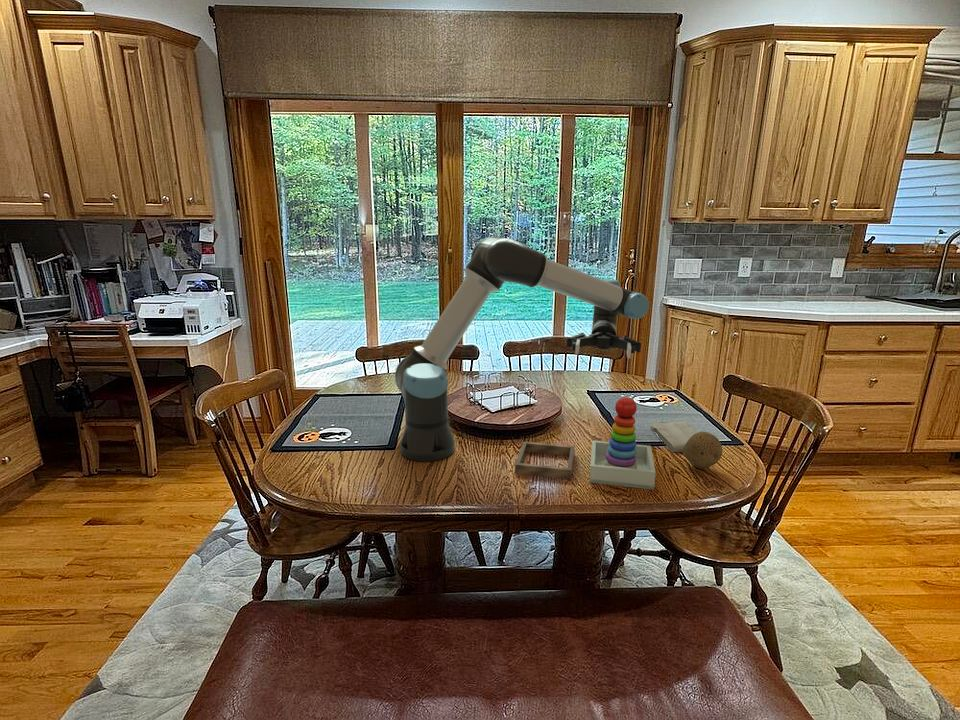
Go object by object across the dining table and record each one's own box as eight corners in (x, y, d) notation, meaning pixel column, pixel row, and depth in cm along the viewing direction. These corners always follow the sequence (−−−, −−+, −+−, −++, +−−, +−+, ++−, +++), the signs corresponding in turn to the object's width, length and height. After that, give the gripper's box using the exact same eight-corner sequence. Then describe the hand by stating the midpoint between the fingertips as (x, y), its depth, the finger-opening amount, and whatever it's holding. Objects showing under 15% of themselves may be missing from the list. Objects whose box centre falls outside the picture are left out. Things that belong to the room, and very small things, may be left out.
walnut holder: (514, 473, 129) (515, 464, 129) (523, 449, 142) (523, 441, 142) (570, 479, 126) (571, 470, 126) (574, 454, 139) (574, 446, 139)
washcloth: (684, 427, 158) (685, 418, 157) (714, 453, 141) (715, 442, 140) (647, 429, 157) (647, 419, 157) (672, 455, 140) (673, 444, 139)
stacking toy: (638, 477, 125) (644, 405, 120) (604, 473, 127) (609, 402, 122) (635, 462, 133) (641, 394, 128) (603, 459, 134) (608, 392, 129)
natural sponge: (720, 480, 126) (726, 443, 123) (682, 474, 129) (686, 437, 126) (718, 464, 134) (723, 428, 131) (681, 458, 137) (685, 424, 134)
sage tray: (589, 482, 125) (590, 465, 124) (591, 455, 139) (592, 440, 138) (653, 489, 121) (655, 472, 120) (649, 461, 135) (650, 445, 134)
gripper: (645, 349, 154) (650, 368, 134) (561, 344, 159) (554, 361, 139) (647, 325, 152) (653, 340, 132) (563, 320, 157) (556, 334, 137)
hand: (602, 351), depth 136 cm, fingers open, 13 cm apart
